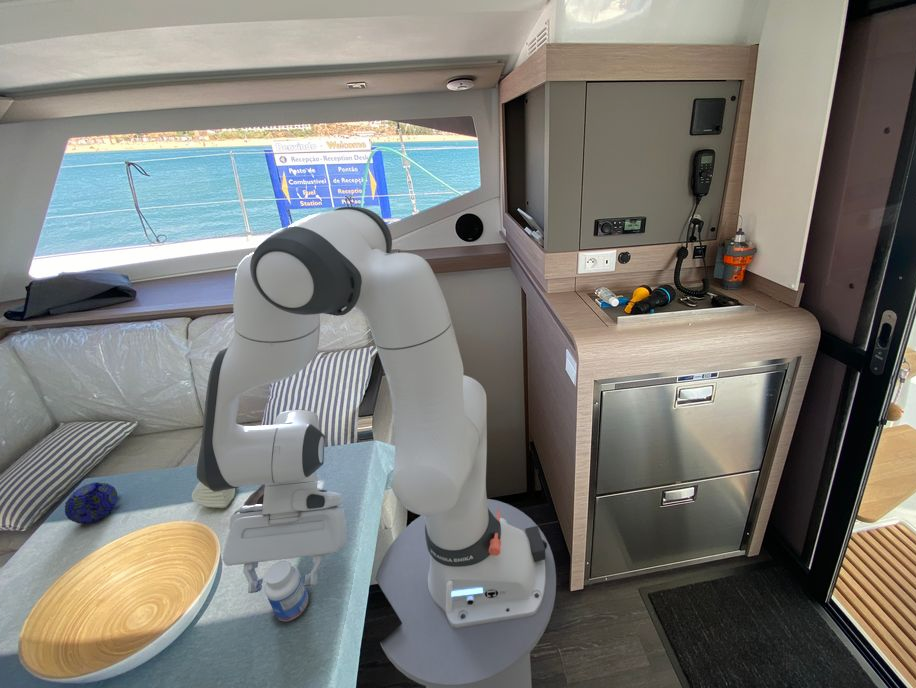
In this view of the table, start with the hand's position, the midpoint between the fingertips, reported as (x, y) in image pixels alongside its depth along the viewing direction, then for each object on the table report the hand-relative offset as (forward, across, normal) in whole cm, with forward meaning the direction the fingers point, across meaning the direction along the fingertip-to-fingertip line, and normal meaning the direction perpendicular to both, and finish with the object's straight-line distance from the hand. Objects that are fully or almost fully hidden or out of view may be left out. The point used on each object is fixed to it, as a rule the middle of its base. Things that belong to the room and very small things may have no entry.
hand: (282, 588), depth 72 cm
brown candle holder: (-12, -12, +20) cm, 27 cm away
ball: (-15, -53, +23) cm, 60 cm away
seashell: (-15, -28, +24) cm, 39 cm away
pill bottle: (+4, 0, +4) cm, 6 cm away
